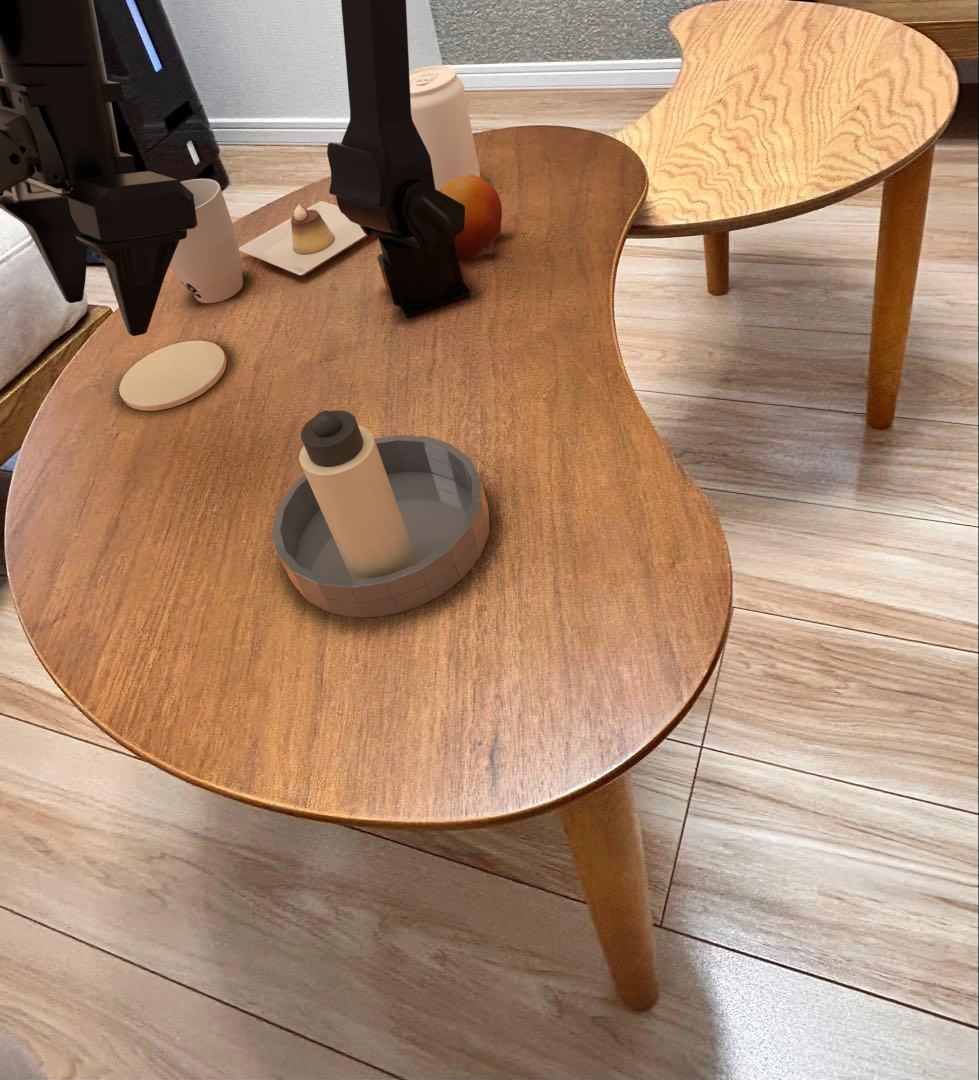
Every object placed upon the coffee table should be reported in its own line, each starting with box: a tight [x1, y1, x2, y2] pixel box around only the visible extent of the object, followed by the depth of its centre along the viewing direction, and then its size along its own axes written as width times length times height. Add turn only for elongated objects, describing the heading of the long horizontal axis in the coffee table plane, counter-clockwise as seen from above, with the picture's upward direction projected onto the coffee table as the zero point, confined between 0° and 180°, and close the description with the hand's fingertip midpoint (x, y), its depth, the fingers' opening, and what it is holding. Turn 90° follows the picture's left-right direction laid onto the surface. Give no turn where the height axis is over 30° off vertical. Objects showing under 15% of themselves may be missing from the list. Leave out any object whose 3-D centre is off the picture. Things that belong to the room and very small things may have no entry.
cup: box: [169, 178, 244, 304], centre depth 87 cm, size 8×8×10 cm
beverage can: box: [409, 65, 482, 191], centre depth 93 cm, size 8×8×12 cm
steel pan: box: [271, 434, 490, 619], centre depth 59 cm, size 14×14×4 cm
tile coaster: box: [118, 340, 228, 412], centre depth 80 cm, size 10×10×1 cm
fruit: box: [439, 175, 507, 262], centre depth 85 cm, size 8×8×8 cm
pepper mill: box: [298, 409, 418, 580], centre depth 52 cm, size 4×4×14 cm
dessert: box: [238, 200, 370, 276], centre depth 92 cm, size 12×12×5 cm
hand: (105, 317), depth 60 cm, fingers open, 9 cm apart
